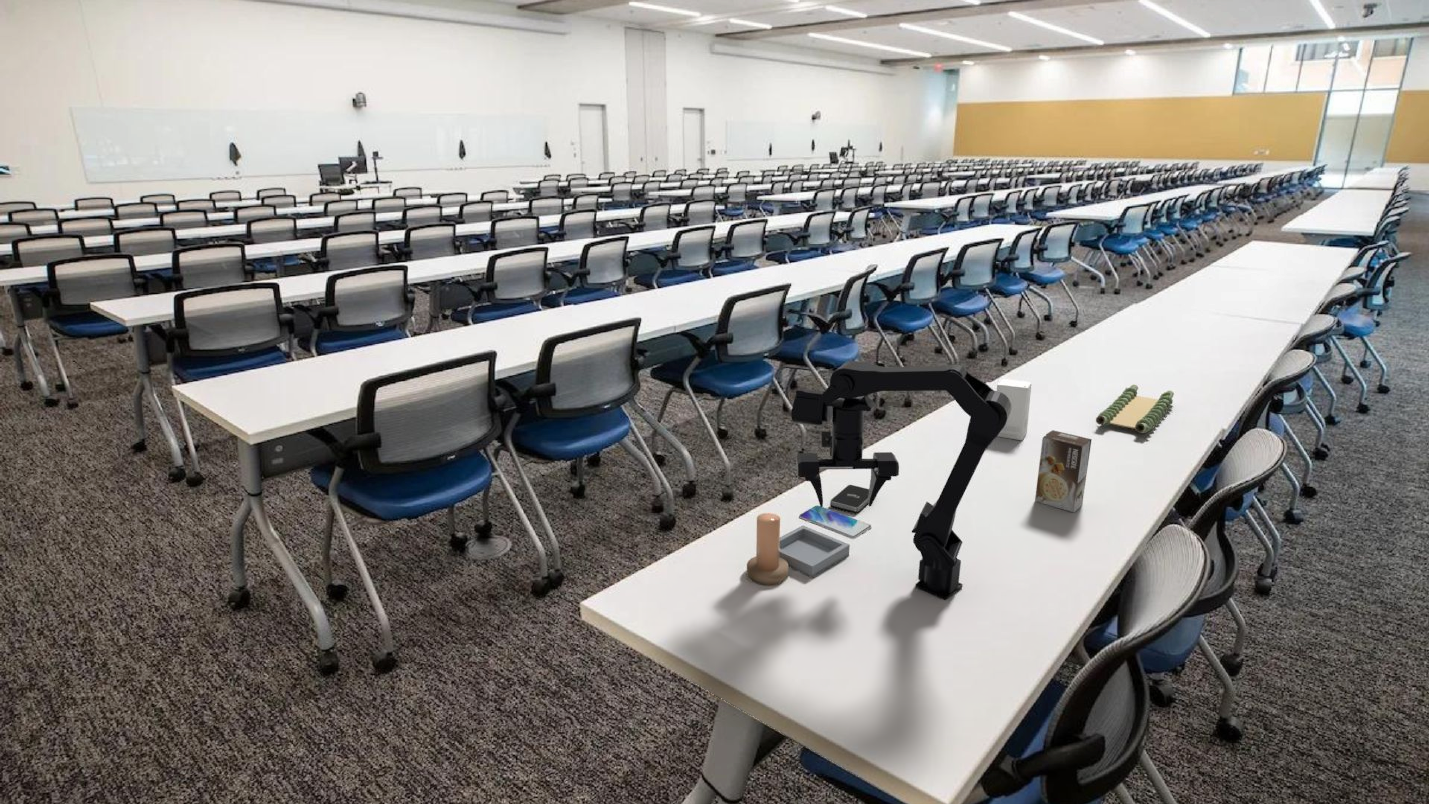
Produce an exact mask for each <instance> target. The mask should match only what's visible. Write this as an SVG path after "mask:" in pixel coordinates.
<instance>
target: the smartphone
mask: <svg viewBox="0 0 1429 804" xmlns="http://www.w3.org/2000/svg"><path fill="white" fill-rule="evenodd" d="M798 517H799V518H800V519H801V520H804V521H806V522H809V523H811V524H815V525H816V524H817V526H819V527H823V528H824V529H826V530H829V531H832V530H833V532H835V533H837V534H840V533H841V534H840V535H842V534H843V535H842V536H845V537H848V536H849V537H848V538H850V539H857V538H859V537H860V536H861V534H862V533H863V534H864V533H866V532H868V531H869V530H871V529H872V525H871V524H869V523H867V522H865V521H861V520H858V519H856V518H853V517H851V516H848V515H845V514H843V513H840V512H837V511H834V510H833V509H829V508H827V507H824V506H823V507H820V505H815V506H812V507H811V508H809V509H807V510H805V511H803V512H802V513H800V514H799V516H798ZM867 530H868V531H867ZM863 534H862V535H863Z"/></svg>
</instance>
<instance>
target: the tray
mask: <svg viewBox="0 0 1429 804" xmlns="http://www.w3.org/2000/svg"><path fill="white" fill-rule="evenodd" d="M850 546H851V544H849V543H846V542H844V541H842V540H840V539H837V538H834V537H832V536H830V535H827V534H825V533H823V532H820V531H817V530H815V529H812V528H810V527H808V526H806V525H801V526H799V527H797V528H795V529H794V530H791V531H789V532H787V533H785V534H784V535H781V536H780V547H779V557H780V558H782V559H784V560H785V561H786V562H787V563H788V568H790V569H792V570H794V571H796V572H799V573H800V574H803V575H805V576H806V577H809V578H811V579H813V578H815V577H817V576H818V575H820V574H821V573H823V572H824V571H826V570H828V569H830V568H832V567H834V565H836V564H838V563H839V562H841V561H842V560H844V559H847V558H848V557H850Z"/></svg>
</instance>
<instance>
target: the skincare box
mask: <svg viewBox="0 0 1429 804" xmlns="http://www.w3.org/2000/svg"><path fill="white" fill-rule="evenodd" d="M1032 384H1033V383H1032V382H1031V381H1022V380H1014V379H1007V378H1002V379H1001V380H1000V381H999V382H998V383H997V385H996V391H998V392H1001V393H1003V394H1005V395H1006V396H1007V397H1008V398H1009V400H1010V403H1011V412H1010V414H1009V417H1008V420H1007V422H1006V424H1005V426H1004V428H1003V429H1002V430H1001V432H1000V433H999V434H998V435H997V437H998V438H1005V439H1011V440H1016V441H1017V440H1018V441H1023V440H1024V438H1025V437H1026V435H1027V434H1028V424H1029V416H1030V415H1029V414H1030V413H1029V412H1030V403H1031V395H1032Z"/></svg>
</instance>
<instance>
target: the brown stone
mask: <svg viewBox="0 0 1429 804" xmlns="http://www.w3.org/2000/svg"><path fill="white" fill-rule="evenodd" d="M746 577H747V579H748V580H750V581H751V582H752V583H754V584H758V585H761V586H776V585H780V584H782V583H784V582H785V581H786V580H788V577H789V567H788V563H787V562H786V561H785V560H784V559H782V558H780V557H779V567H778V569H776V570H773V571H763V570H760V569H758V568H757V566H756V556H753V557H751V558H750V559H749V560H748V561H747V562H746Z"/></svg>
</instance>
